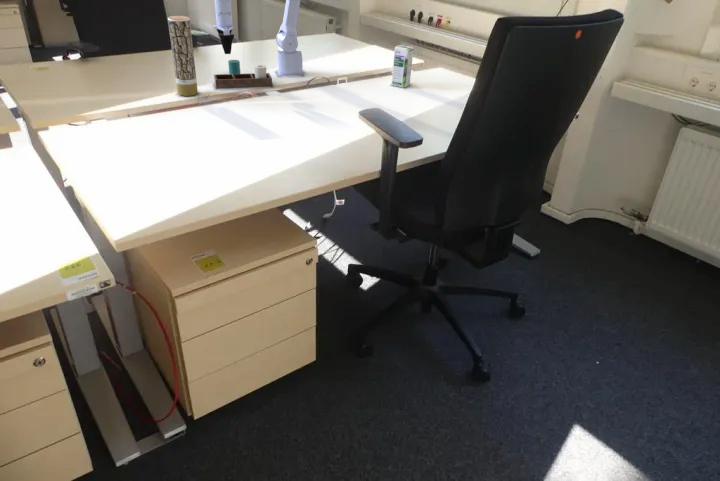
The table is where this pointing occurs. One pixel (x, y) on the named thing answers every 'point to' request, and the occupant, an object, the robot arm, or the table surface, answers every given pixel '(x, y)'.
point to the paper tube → (183, 55)
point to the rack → (241, 81)
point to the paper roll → (234, 66)
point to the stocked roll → (260, 71)
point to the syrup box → (402, 66)
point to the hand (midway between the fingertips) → (226, 51)
